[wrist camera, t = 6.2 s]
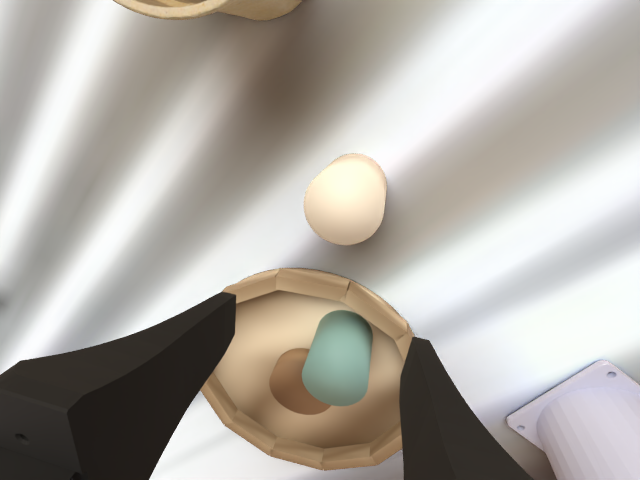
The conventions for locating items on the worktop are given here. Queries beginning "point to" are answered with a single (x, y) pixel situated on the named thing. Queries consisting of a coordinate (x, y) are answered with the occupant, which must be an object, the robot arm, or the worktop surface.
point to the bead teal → (339, 359)
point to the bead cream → (347, 200)
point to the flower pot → (210, 8)
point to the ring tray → (300, 330)
